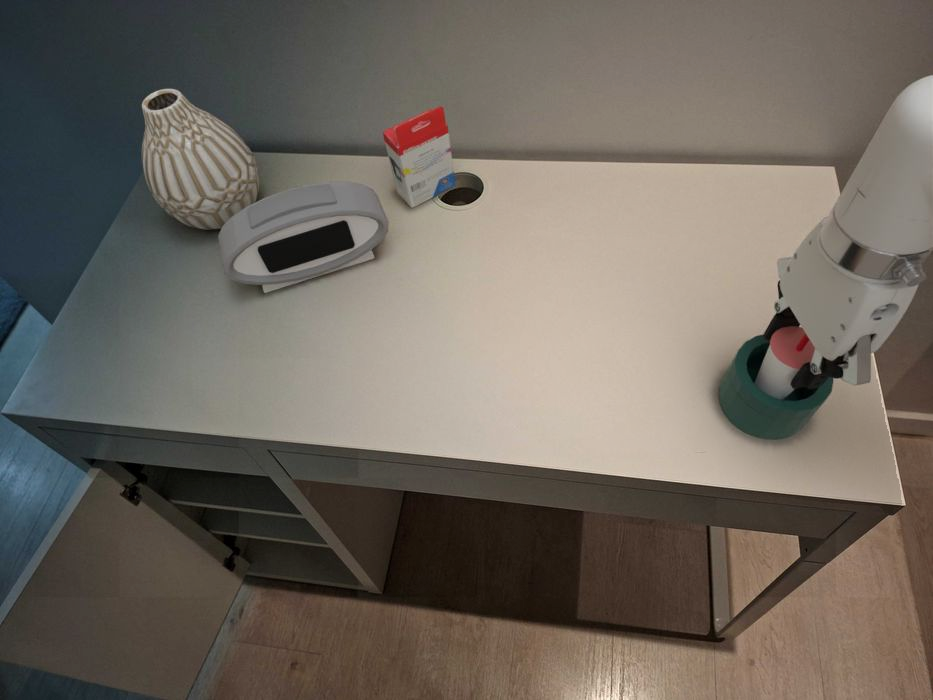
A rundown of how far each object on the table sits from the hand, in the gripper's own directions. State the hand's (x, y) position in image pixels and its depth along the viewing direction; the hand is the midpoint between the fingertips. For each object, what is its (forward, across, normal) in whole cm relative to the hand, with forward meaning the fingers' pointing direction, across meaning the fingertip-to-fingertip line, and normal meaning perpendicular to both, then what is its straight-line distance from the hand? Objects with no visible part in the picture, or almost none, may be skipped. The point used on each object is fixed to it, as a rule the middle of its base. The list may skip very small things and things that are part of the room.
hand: (791, 358), depth 62 cm
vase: (+10, +51, +67) cm, 85 cm away
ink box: (+10, +47, +34) cm, 59 cm away
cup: (+7, 0, 0) cm, 7 cm away
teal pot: (+9, 0, 0) cm, 9 cm away
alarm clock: (+10, +35, +52) cm, 63 cm away
